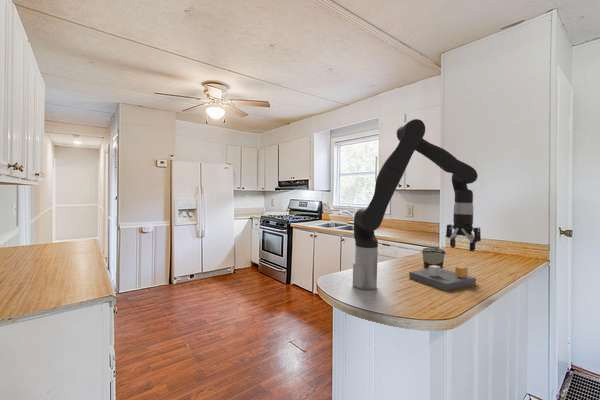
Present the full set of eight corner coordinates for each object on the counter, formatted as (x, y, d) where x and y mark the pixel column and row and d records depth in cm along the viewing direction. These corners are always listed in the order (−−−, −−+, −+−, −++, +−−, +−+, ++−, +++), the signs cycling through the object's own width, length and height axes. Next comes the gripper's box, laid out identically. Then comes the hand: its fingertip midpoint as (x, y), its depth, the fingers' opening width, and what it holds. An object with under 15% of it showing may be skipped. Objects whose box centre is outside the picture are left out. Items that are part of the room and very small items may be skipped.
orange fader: (461, 277, 121) (462, 268, 121) (455, 275, 124) (455, 266, 124) (467, 276, 123) (467, 267, 123) (460, 274, 126) (461, 266, 126)
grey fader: (434, 276, 122) (434, 267, 122) (428, 274, 125) (428, 266, 125) (440, 275, 124) (440, 266, 124) (434, 273, 127) (434, 265, 127)
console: (446, 291, 114) (446, 283, 114) (409, 278, 131) (409, 271, 131) (475, 284, 123) (475, 277, 123) (437, 273, 140) (437, 267, 140)
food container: (440, 266, 154) (441, 248, 154) (445, 269, 148) (446, 250, 148) (417, 265, 156) (418, 247, 155) (421, 268, 150) (422, 249, 149)
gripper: (443, 212, 128) (442, 247, 128) (474, 214, 115) (473, 253, 115) (453, 211, 131) (452, 245, 132) (484, 214, 118) (483, 251, 119)
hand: (462, 249), depth 123 cm, fingers open, 8 cm apart
